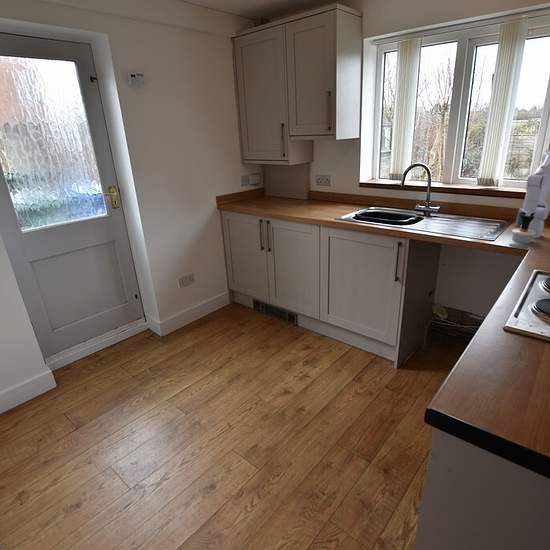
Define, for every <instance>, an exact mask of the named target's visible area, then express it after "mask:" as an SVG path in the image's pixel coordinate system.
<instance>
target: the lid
mask: <svg viewBox="0 0 550 550" xmlns="http://www.w3.org/2000/svg"><path fill="white" fill-rule="evenodd" d="M511 233H515V234H519V235H535V233H536V232H535V231H532V230H529V227H528V229H527V230H523V229H522V225H521V226H520V227H519V228H513V229H512V230H511Z"/></svg>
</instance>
